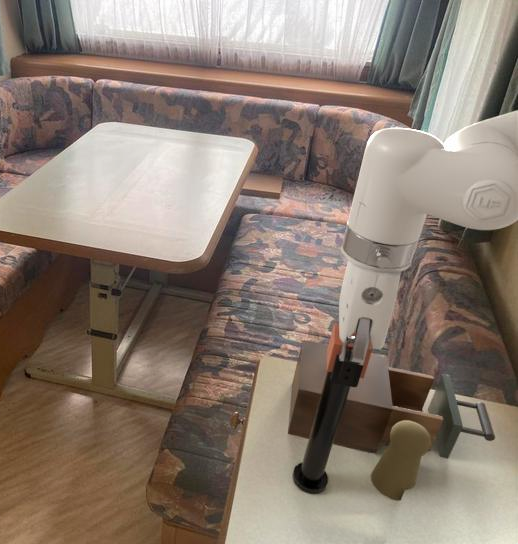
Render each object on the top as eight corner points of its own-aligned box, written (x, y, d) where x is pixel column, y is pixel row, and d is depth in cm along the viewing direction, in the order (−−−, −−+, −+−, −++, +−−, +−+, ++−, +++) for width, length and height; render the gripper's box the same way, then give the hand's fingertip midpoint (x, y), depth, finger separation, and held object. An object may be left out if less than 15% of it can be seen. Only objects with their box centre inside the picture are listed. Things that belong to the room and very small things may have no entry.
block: (362, 356, 74) (370, 329, 71) (363, 379, 70) (372, 350, 68) (327, 349, 75) (334, 322, 72) (326, 371, 71) (334, 343, 69)
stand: (332, 477, 85) (368, 362, 73) (319, 500, 81) (356, 384, 70) (300, 460, 87) (331, 347, 76) (286, 482, 84) (316, 366, 72)
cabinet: (372, 399, 99) (386, 356, 94) (376, 454, 89) (393, 409, 84) (292, 382, 102) (302, 339, 97) (287, 433, 91) (298, 389, 86)
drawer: (471, 418, 95) (488, 383, 91) (486, 472, 86) (506, 435, 82) (358, 394, 99) (369, 359, 95) (360, 443, 89) (373, 407, 85)
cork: (375, 497, 82) (396, 444, 76) (367, 463, 87) (386, 411, 81) (418, 503, 82) (443, 449, 76) (407, 468, 87) (430, 416, 81)
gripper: (424, 290, 56) (378, 424, 65) (406, 217, 70) (370, 336, 79) (344, 276, 57) (310, 410, 67) (342, 208, 71) (314, 326, 81)
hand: (343, 369), depth 73 cm, fingers closed on block, 4 cm apart
